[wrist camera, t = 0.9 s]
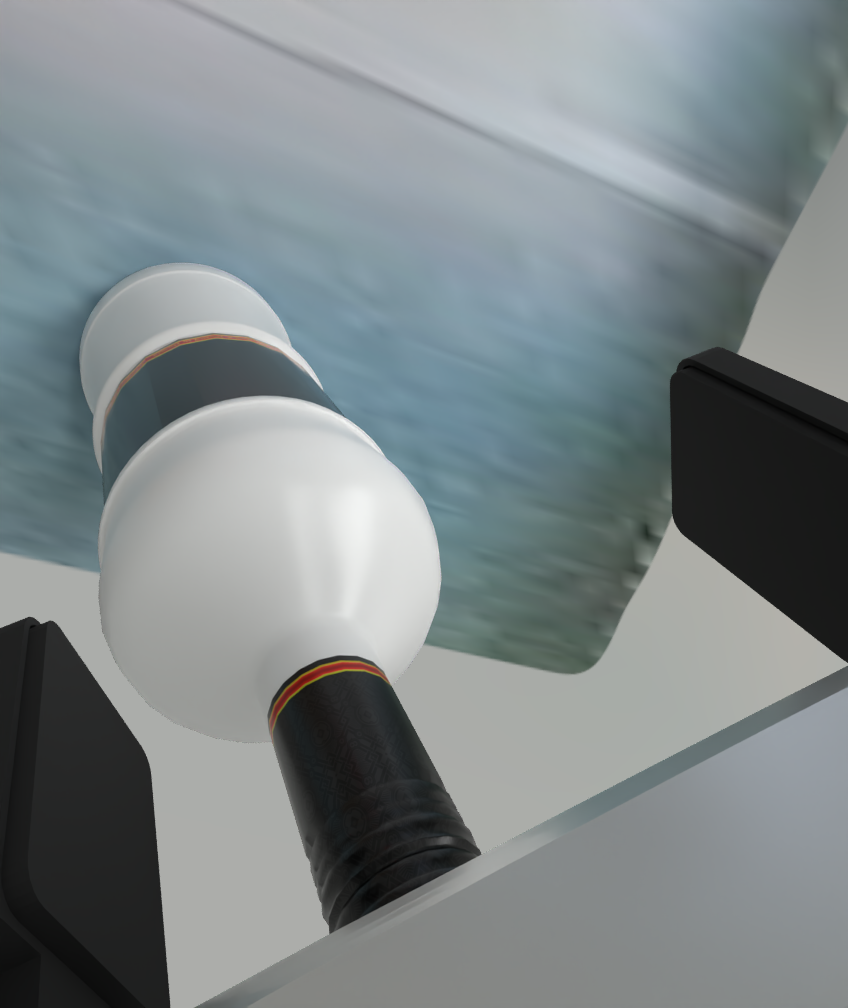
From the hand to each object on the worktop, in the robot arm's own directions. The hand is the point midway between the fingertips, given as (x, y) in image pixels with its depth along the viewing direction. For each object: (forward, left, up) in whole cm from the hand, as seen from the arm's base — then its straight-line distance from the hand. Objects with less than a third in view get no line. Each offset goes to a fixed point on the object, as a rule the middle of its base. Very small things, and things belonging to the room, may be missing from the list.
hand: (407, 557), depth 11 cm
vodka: (+6, +1, -27) cm, 28 cm away
